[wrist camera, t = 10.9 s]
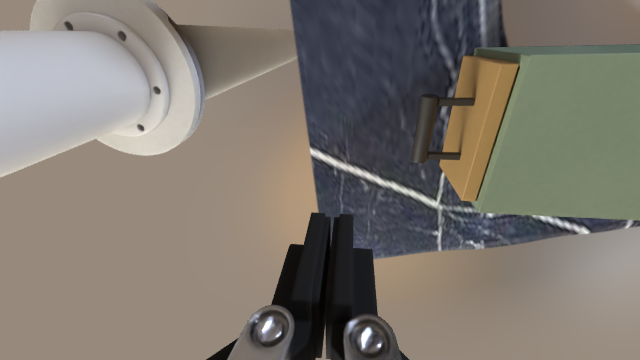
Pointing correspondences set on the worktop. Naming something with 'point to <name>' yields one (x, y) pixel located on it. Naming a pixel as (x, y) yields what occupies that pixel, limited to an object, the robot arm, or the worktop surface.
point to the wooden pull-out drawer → (468, 122)
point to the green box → (567, 134)
